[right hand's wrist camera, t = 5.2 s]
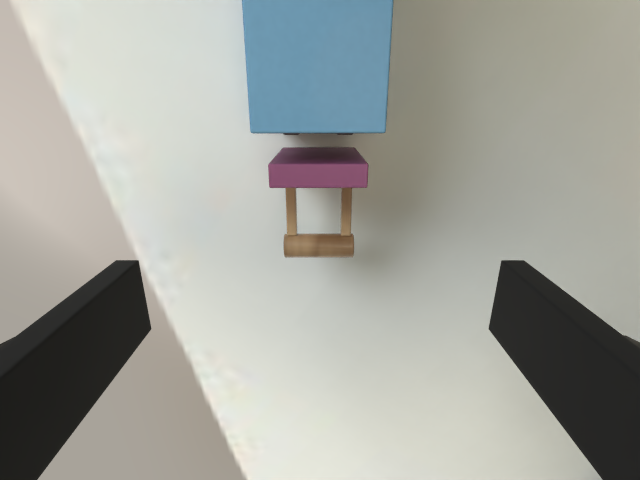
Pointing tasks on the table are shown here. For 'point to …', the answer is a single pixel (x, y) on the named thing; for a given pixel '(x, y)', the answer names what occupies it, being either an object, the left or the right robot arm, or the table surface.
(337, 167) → the drawer
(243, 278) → the table surface
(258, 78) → the cabinet
